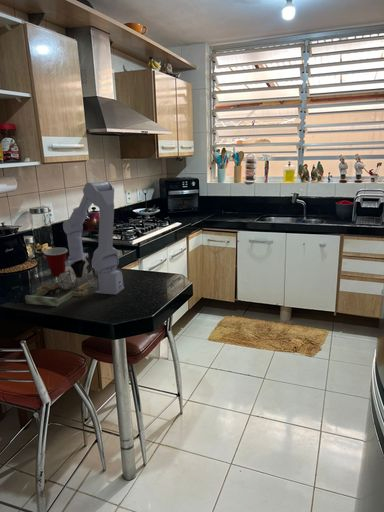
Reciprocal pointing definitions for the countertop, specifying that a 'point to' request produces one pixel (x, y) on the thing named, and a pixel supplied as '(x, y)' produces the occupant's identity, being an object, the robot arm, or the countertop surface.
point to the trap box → (53, 301)
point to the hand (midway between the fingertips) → (79, 277)
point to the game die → (66, 280)
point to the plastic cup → (56, 260)
